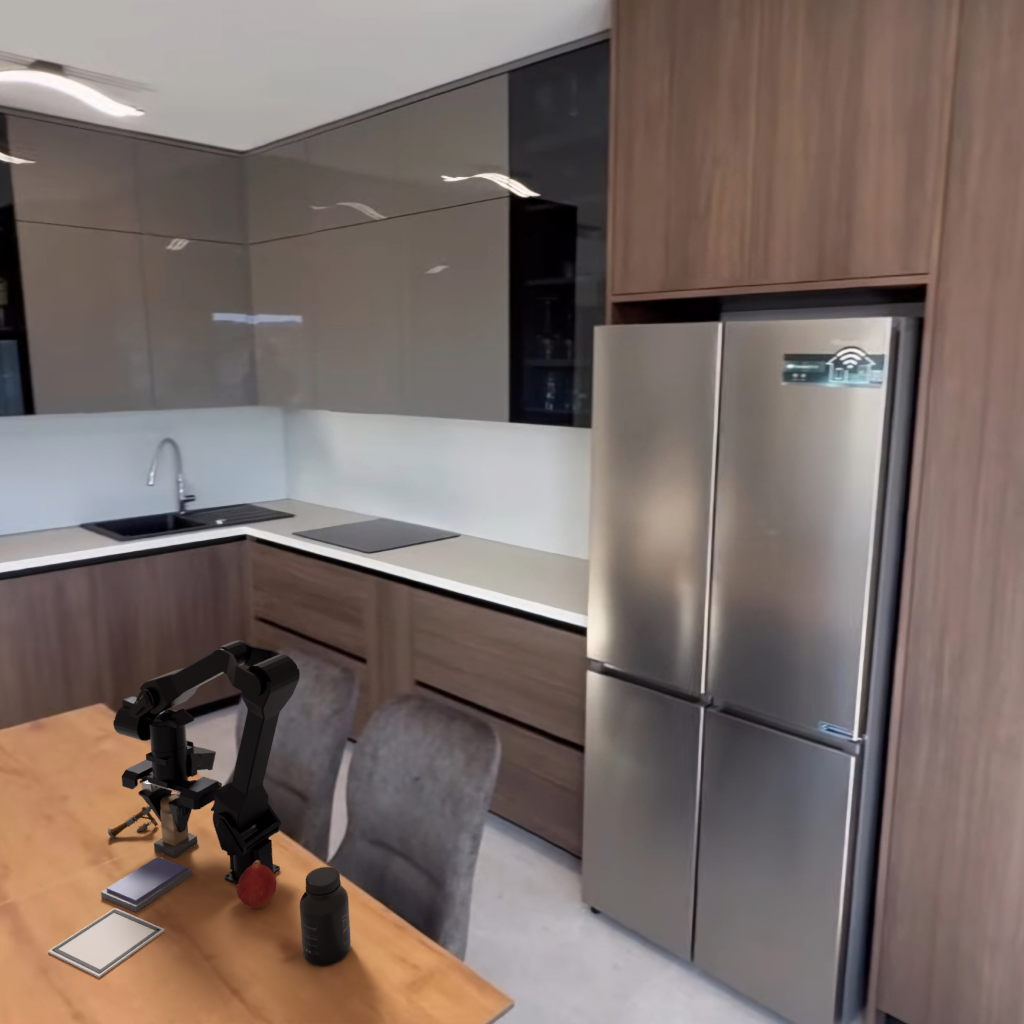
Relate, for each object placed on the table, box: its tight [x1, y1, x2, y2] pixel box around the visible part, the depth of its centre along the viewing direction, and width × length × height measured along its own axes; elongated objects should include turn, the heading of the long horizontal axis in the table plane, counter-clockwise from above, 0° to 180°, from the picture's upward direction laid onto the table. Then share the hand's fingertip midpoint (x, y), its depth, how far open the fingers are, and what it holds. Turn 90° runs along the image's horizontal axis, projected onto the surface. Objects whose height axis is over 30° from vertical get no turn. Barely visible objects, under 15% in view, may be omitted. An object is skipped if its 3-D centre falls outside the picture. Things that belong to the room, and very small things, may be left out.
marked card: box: [47, 907, 166, 979], centre depth 121 cm, size 11×11×1 cm
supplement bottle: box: [299, 866, 352, 967], centre depth 118 cm, size 7×7×12 cm
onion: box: [236, 860, 277, 910], centre depth 129 cm, size 6×6×8 cm
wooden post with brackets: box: [107, 804, 159, 841], centre depth 150 cm, size 2×8×4 cm, turn 120°
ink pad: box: [100, 856, 193, 913], centre depth 135 cm, size 8×11×2 cm
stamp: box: [153, 793, 198, 859], centre depth 145 cm, size 5×5×9 cm
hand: (174, 828), depth 145 cm, fingers closed on stamp, 3 cm apart
